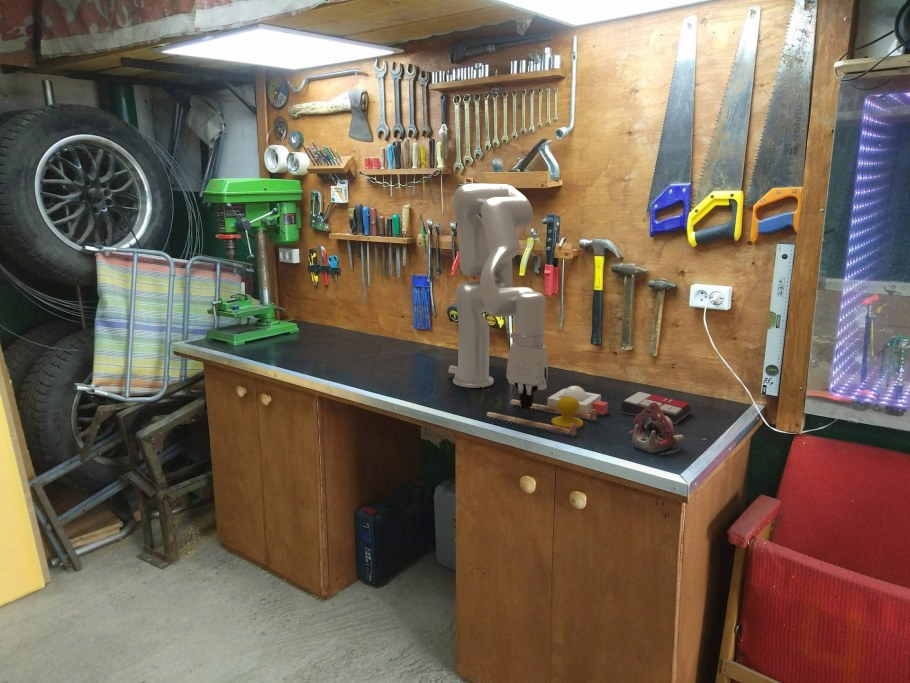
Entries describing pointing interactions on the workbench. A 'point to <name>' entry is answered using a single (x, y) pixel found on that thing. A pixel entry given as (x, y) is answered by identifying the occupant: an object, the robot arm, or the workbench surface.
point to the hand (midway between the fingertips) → (526, 407)
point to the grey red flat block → (668, 406)
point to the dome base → (584, 407)
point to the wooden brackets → (542, 425)
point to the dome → (575, 393)
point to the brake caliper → (654, 430)
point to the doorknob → (567, 412)
